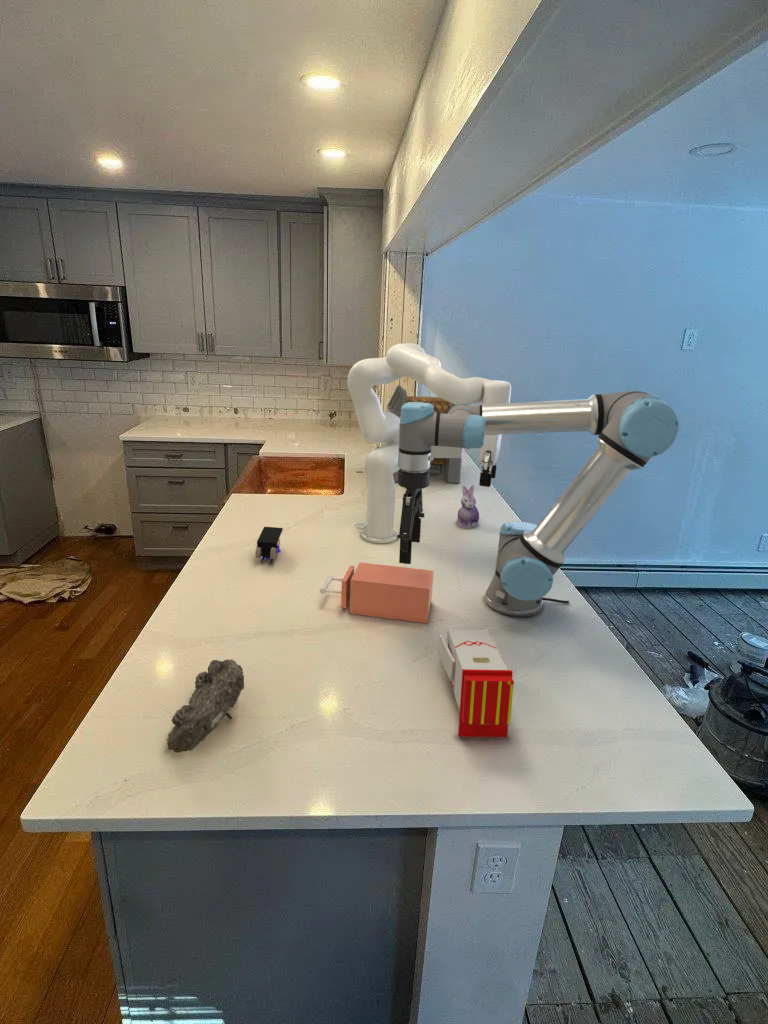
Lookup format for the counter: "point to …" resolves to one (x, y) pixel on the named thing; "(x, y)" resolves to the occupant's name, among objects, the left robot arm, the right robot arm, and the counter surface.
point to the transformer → (442, 456)
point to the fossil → (206, 705)
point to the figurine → (468, 509)
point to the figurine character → (268, 543)
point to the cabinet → (391, 592)
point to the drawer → (345, 586)
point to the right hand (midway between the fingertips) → (409, 552)
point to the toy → (478, 682)
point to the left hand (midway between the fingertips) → (487, 481)
